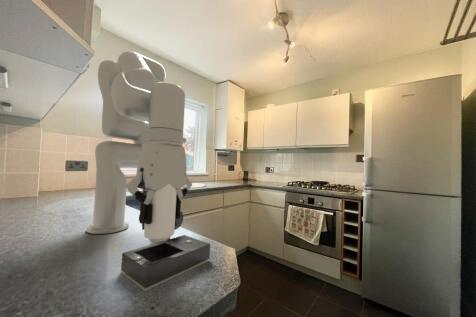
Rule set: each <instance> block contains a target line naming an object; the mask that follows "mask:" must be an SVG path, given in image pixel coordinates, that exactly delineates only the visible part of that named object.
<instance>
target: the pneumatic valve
mask: <svg viewBox="0 0 476 317" xmlns="http://www.w3.org/2000/svg"><path fill="white" fill-rule="evenodd" d="M138 222H139V223H140V224H141V229H142V230H143V231H144V229H145V223H142V222H141V219H140V214H139V216H138ZM183 222H184V213H183V212H182V211H180V218H175V229H174V231H175V230H177V229H179V228H180V227H181V226H182V224H183ZM169 239H171V237H170V238H169ZM169 239H167V240H169ZM163 241H165V240H163ZM149 242H150V245H152V244H155V243H159V242H162V241H151V240H149Z"/></svg>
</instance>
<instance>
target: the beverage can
mask: <svg viewBox="0 0 476 317" xmlns="http://www.w3.org/2000/svg"><path fill="white" fill-rule="evenodd" d="M176 194H177V191H176V189H175V188H174V187H172V186H171V185H170V184H167V186H165V187H164V188H162V189H159V190H155V192H154V195H153V197H152V199H151V202H150V204H152V205H153V210H152V223H151V224H145V229H144V230H143V231H144V232H143V233H144V234H143V235H144V238H146V239H148V240H149V241H150V240H151V241H163V240H167V239H169V238H170V239H171V237H172V236H174V234H175V230H174V229H175V212H176Z"/></svg>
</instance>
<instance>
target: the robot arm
mask: <svg viewBox="0 0 476 317" xmlns="http://www.w3.org/2000/svg"><path fill="white" fill-rule="evenodd" d="M165 80H166V70H165V67H163V65H162V64H161V63H160V62H157V61H156V60H154V59H151V58H149V57H146V56H144V55H142V54H140V53H138V52H135V51H124V52H122V53H121V54H120V55H119V56H118V58H117V61H114V60H109V59H107V60H103V61H101V62H100V63H99V66H98V68H97V82H98V86H99V90H100V94H101V96H102V112H101V113H102V114H101V115H102V116H101V117H102V118H101V131H102V133H103V135H104V136H105V137H107V138H111V139H117V140H123V141H124V140H126V141H133V143H130V142H126V141H125V142H123V141H116V140H114V141H113V140H106V141H101V142H99V143H98V144H97V145H96V146H95V150H94V151H95V152H94V155H95V165H96V166H95V167H96V171H95V172H96V173H95V174H96V175H95V191H94V201H93V203H94V204H93V215H92V216H93V217H92V224H91V225H89V226H87V227H86V232H87V233H88V234H92V235H103V234H106V235H107V234H112V233H118V232H121V231H125V230H126V229H128V228H129V227H130V226H129V225H130V224H129V222H126V221H125V216H126V204H127V203H126V202H127V201H126V198H127V192H129V193H130V194H131V195H132V196H133V198H134V199H135V200H136V201H137V202H138V203H139V204H140V207H139V208H140V209H139V215H140V219H141V222H142V223H145V224H151V223H152V210H153V205H152V204H150V202H151V199H152V197H153V195H154V192H155V190H159V189H162V188H164V187H165V186H167V184H170V185H171V186H172V187H174V188H175V189H176V191H177V194H176V212H175V218H180V212H181V207H182V206H181V205H182V201H184V199H185V198H184V197H185V195H186V194H187V193H188V191H189V190H190V189H191V188H192V186H193V183H192V181H191V180H190V179H189V177H188V176H187V155H186V150H185V146H184V144H185V143H187V138H185V137H184V128H185V127H184V122H185V109H186V108H185V105H186V104H185V103H186V94H185V90H184V89H183V88H182V86H180V85H178V84H176V83H173V82H167V81H165ZM123 168H125V169H126V168H127V169H130V168H131V169H136V174H135V176H134V177H133V178H132V179H131V180H129V182H128V180H127V176H126V175H125V173H124V172H123V171H122V170H121V169H123ZM140 189H141V191H140Z"/></svg>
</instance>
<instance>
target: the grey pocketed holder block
mask: <svg viewBox="0 0 476 317" xmlns="http://www.w3.org/2000/svg"><path fill="white" fill-rule="evenodd" d="M210 257H211V243H208V242H206V241H203V240H201V239H197V238H193V237H192V236H188V235H185V234H183V235H180V236H177V237H172V238H170V239H169V240H165V241H162V242H159V243H155V244H152V245H151V244H148V245H145V246H142V247H138V248H135V249H131V250H127V251H124V252H122V253H121V268H120V273H121V274H122V275H123V276H124V277H126V278H127V279H128V280H130V281H131V282H132V283H134V284H135V285H136V286H138V287H139V288H140V289H141V290H142V291H144V292H147V291H149V290H151V289H153V288H156V287H158V286H159V285H161V284H164V283H165V282H169V281H171V280H172V279H175V278H176V277H179V276H180V275H182V274H185V273H187V272H189V271H192V270H193V269H195V268H197V267H199V266H202V265H204V264H206V263H208V262H209V261H210V260H211V259H210Z"/></svg>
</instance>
